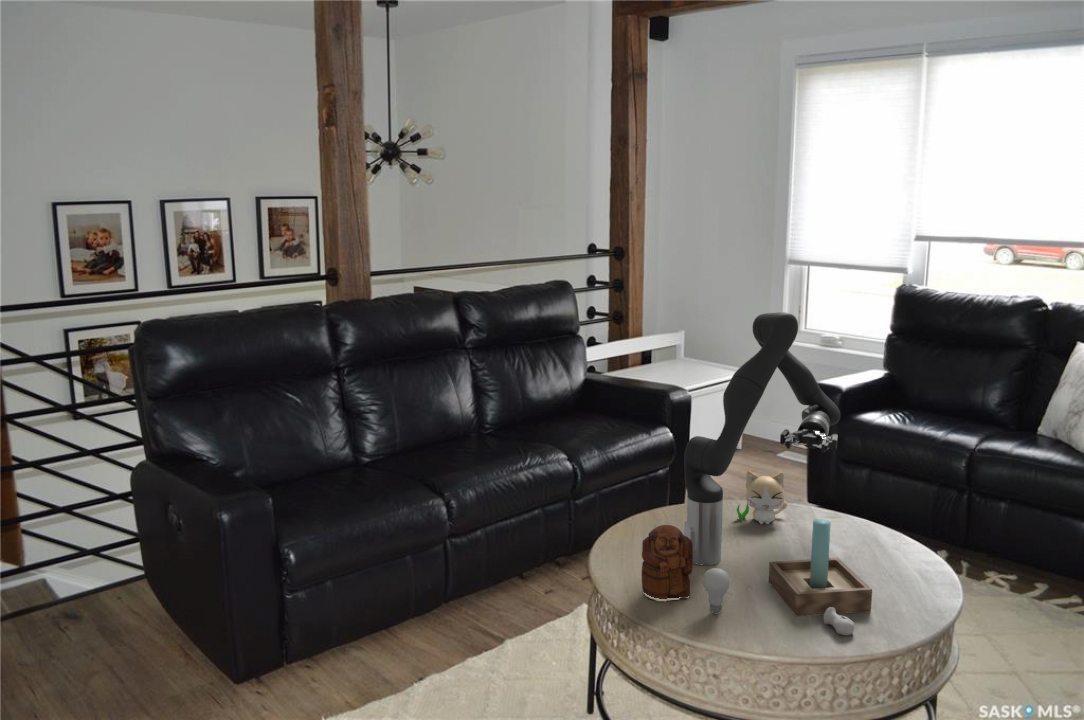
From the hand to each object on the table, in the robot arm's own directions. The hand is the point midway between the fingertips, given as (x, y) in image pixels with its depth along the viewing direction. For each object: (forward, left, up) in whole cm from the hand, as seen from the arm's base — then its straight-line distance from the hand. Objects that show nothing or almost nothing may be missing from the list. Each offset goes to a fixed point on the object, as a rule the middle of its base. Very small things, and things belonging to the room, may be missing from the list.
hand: (805, 446), depth 226 cm
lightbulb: (-30, -23, -32) cm, 50 cm away
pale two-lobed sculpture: (-5, -34, -32) cm, 47 cm away
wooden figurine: (-39, -13, -32) cm, 52 cm away
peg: (-3, -18, -32) cm, 37 cm away
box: (-3, -18, -32) cm, 37 cm away
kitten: (+1, +31, -32) cm, 45 cm away
